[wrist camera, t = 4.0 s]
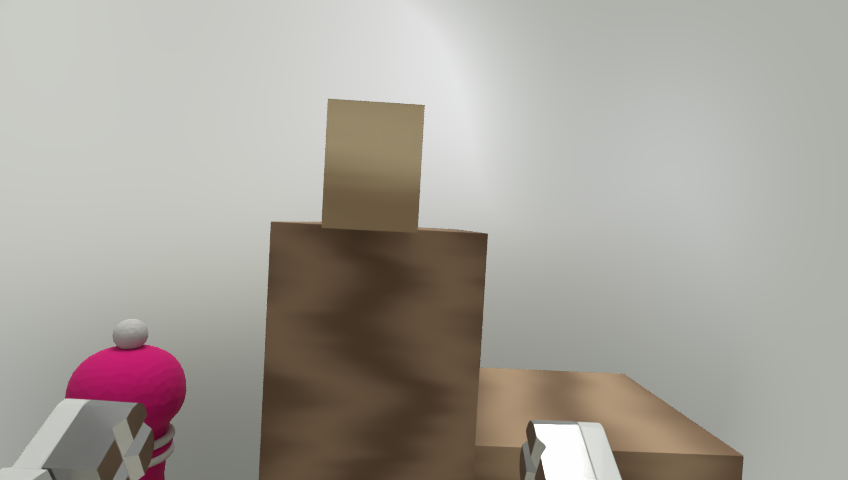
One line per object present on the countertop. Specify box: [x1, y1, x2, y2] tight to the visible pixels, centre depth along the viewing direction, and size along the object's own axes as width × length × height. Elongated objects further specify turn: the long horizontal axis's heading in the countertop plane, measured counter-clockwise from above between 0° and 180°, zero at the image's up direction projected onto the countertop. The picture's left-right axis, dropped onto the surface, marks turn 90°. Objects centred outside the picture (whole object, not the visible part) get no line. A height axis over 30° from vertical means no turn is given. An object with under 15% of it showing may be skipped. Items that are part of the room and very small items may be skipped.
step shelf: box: [259, 222, 743, 480], centre depth 32 cm, size 23×14×26 cm, turn 92°
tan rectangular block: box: [322, 99, 425, 233], centre depth 26 cm, size 18×3×4 cm, turn 2°
